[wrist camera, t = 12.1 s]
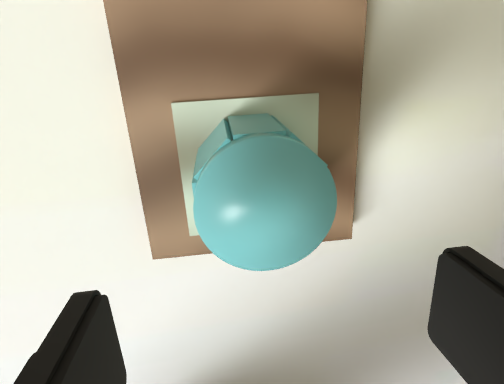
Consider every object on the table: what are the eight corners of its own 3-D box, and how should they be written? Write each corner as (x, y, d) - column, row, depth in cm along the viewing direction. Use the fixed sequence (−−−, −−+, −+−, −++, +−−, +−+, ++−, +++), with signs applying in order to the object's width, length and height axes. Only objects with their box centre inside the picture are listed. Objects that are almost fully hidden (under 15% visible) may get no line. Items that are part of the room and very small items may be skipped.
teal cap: (301, 110, 18) (339, 131, 13) (302, 208, 21) (334, 262, 15) (192, 118, 18) (183, 144, 12) (205, 218, 20) (202, 278, 15)
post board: (343, 228, 23) (409, 312, 16) (156, 247, 22) (126, 347, 15) (366, -195, 15) (528, -465, 7) (74, -197, 14) (-95, -514, 6)
